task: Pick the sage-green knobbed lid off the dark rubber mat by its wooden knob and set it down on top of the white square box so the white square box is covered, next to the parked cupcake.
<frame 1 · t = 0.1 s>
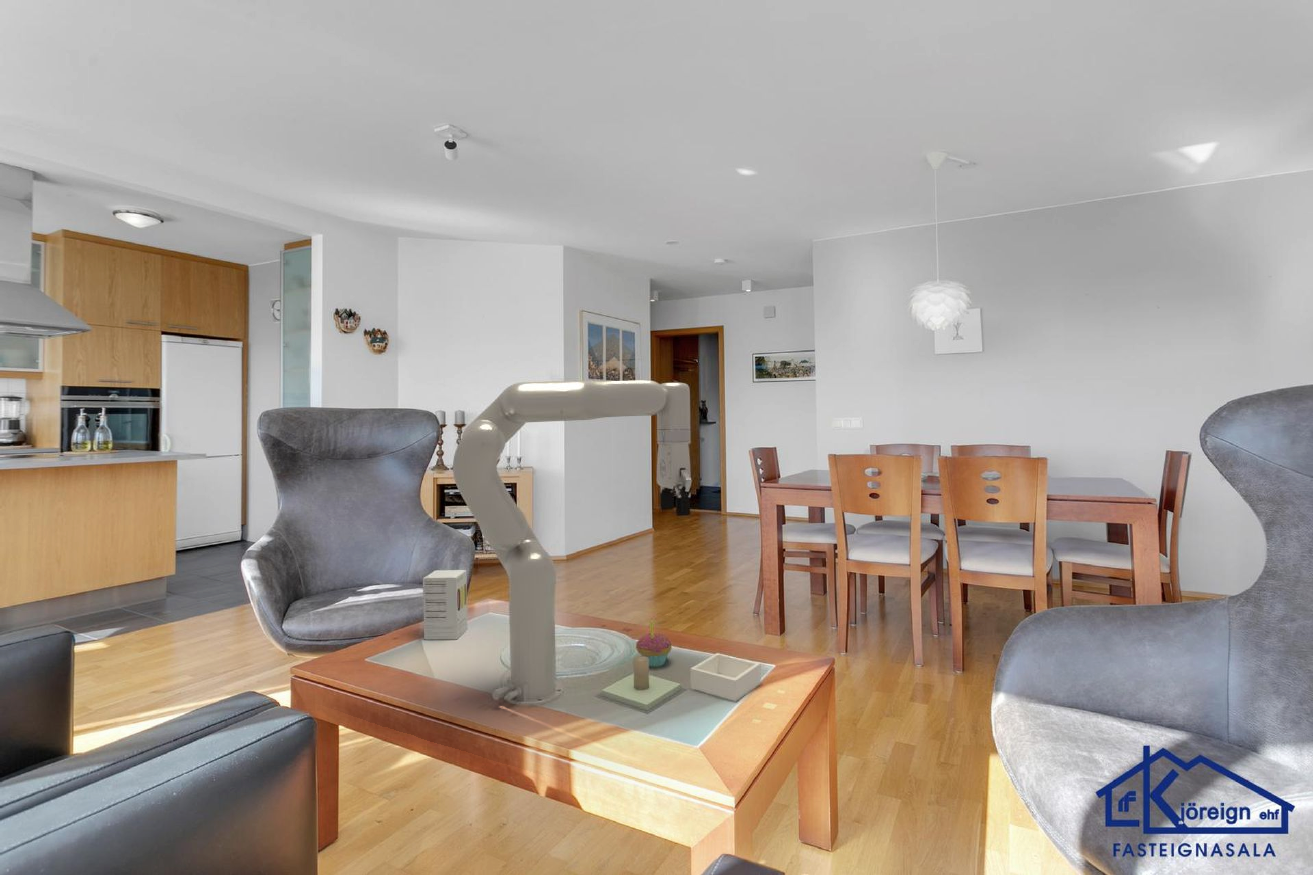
hand: (674, 512, 147), 37 cm above the table, tool pointing down, fingers open, 9 cm apart
supplement box: (446, 634, 177), on the table
white square box: (726, 688, 139), on the table
mat: (641, 695, 137), on the table
cupcake: (653, 665, 153), on the table
lid: (641, 692, 137), point 1 cm above the table, touching mat
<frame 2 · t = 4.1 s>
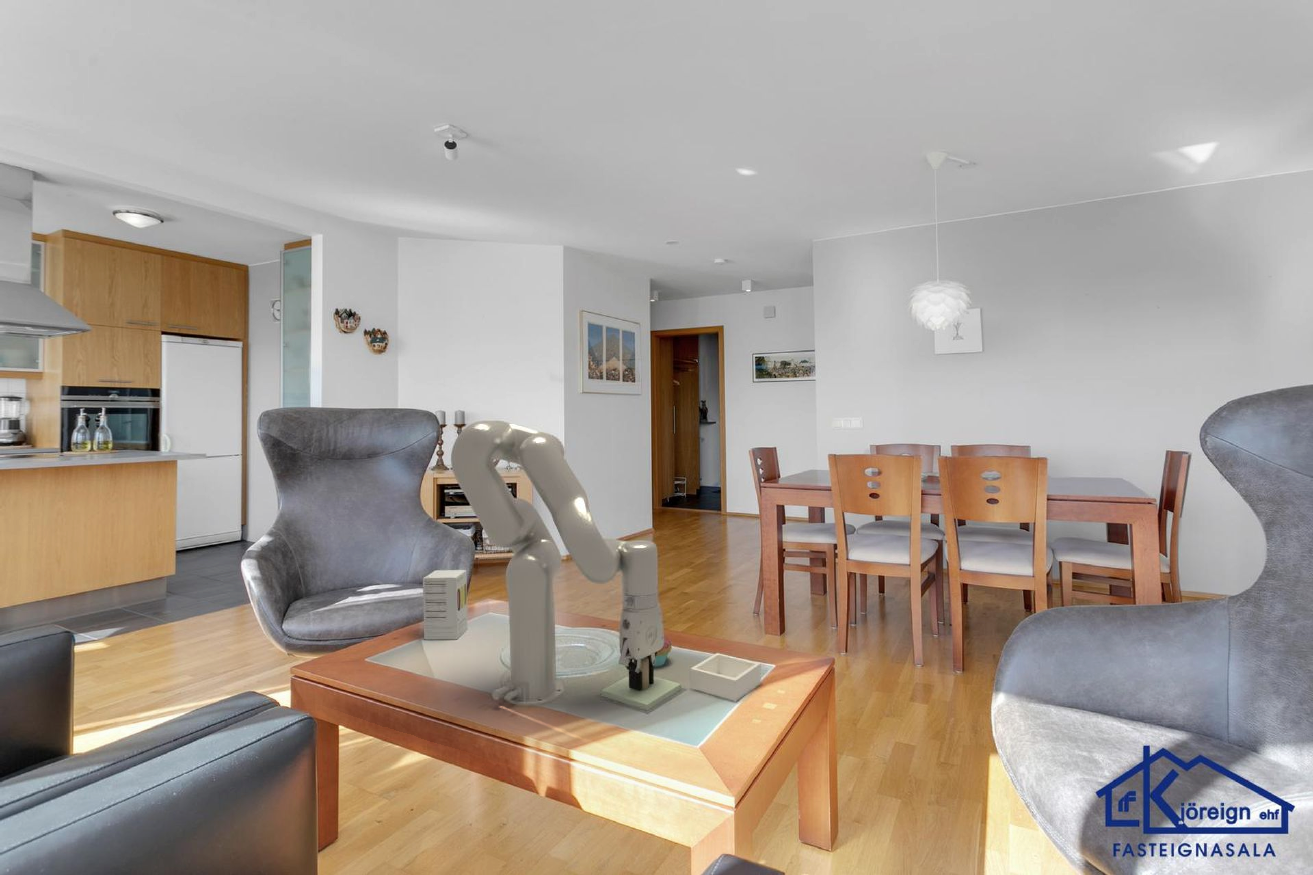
hand: (641, 684, 136), 2 cm above the table, tool pointing down, fingers closed on lid, 3 cm apart
lid: (641, 692, 137), point 1 cm above the table, touching gripper, mat
everything else where it was.
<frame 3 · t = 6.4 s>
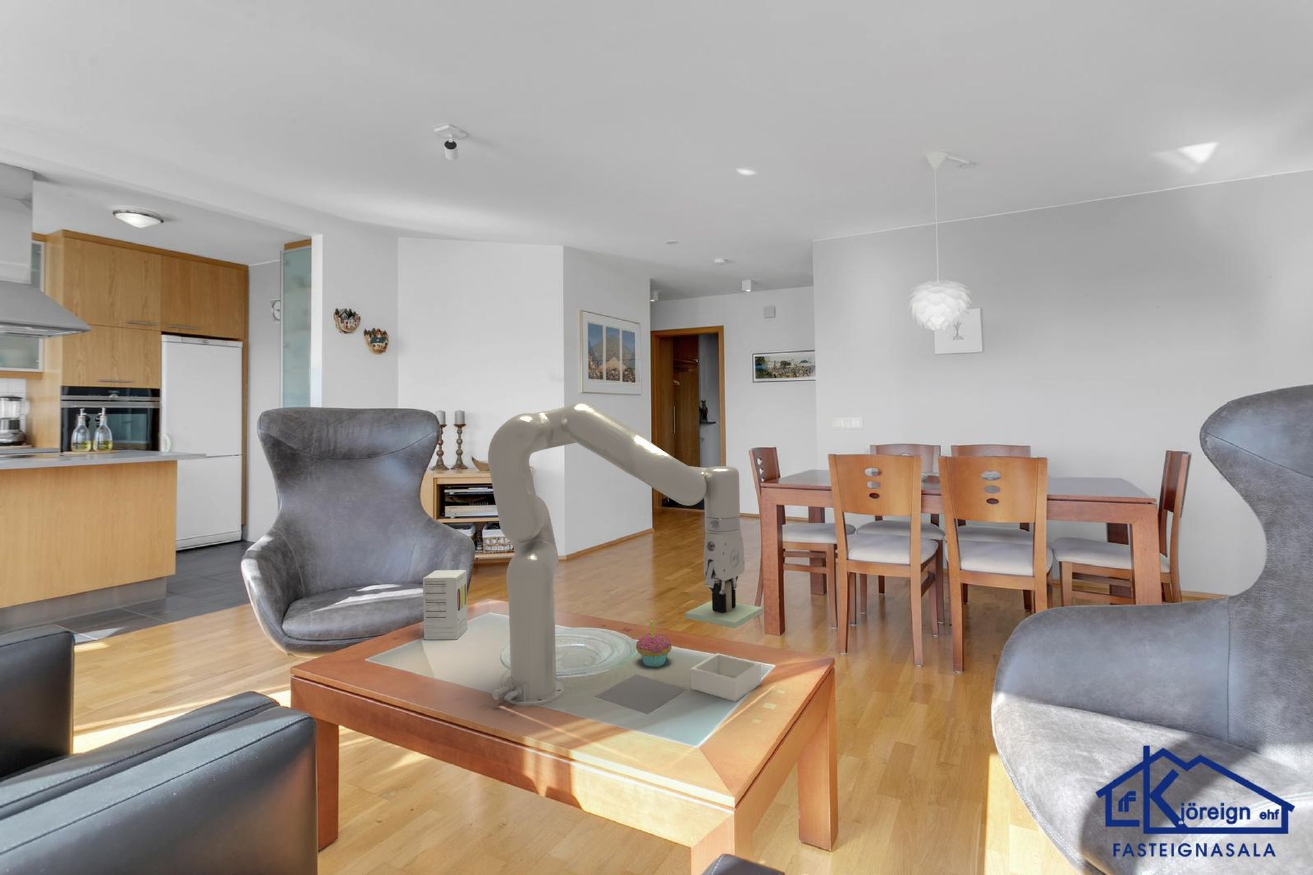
hand: (724, 608, 139), 18 cm above the table, tool pointing down, fingers closed on lid, 3 cm apart
lid: (724, 615, 139), point 16 cm above the table, touching gripper
everything else where it was.
when the fingers open (8 cm above the table, at t = 8.9 s): lid stays where it is, resting on white square box.
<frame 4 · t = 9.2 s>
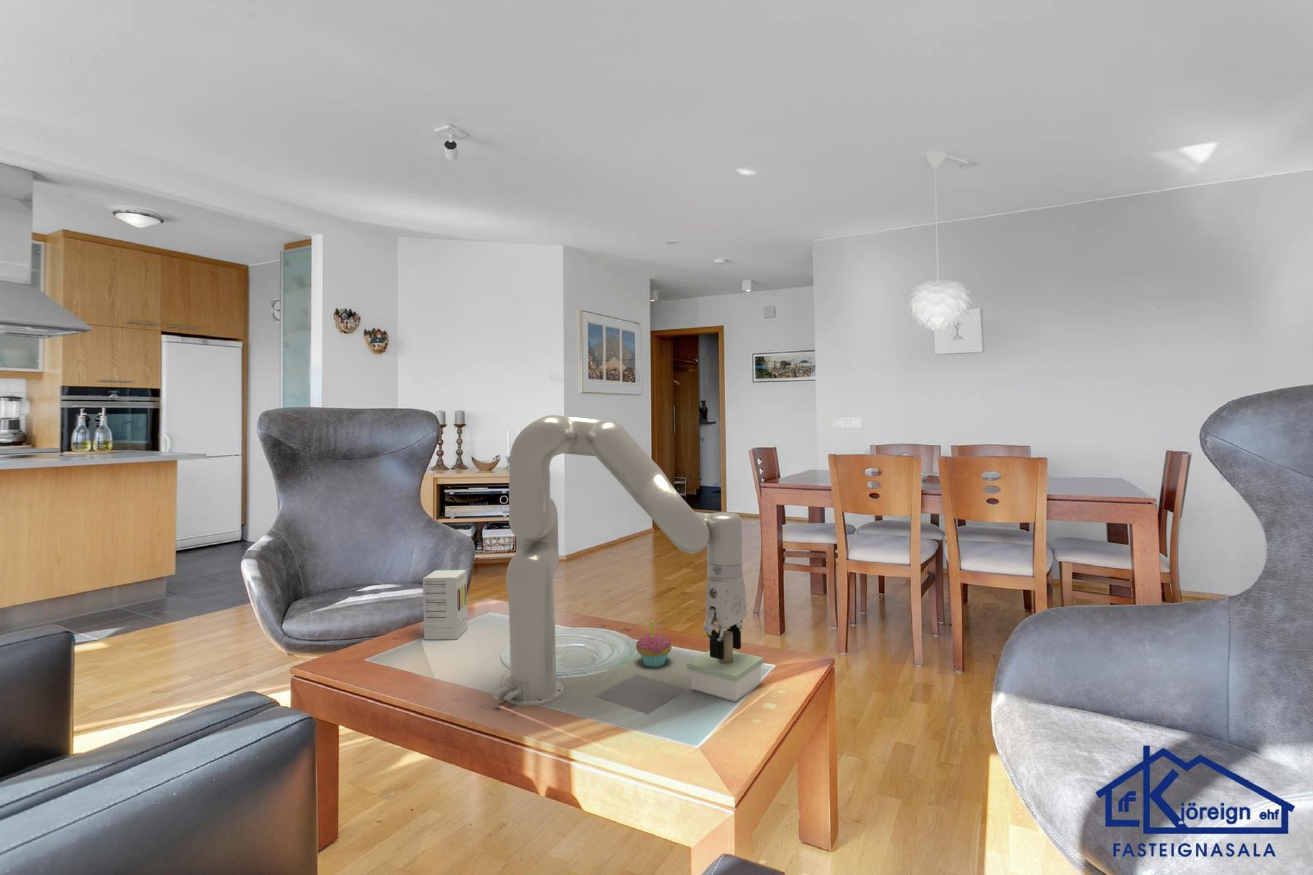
hand: (725, 652, 139), 8 cm above the table, tool pointing down, fingers open, 6 cm apart
lid: (725, 666, 139), point 5 cm above the table, touching white square box
everything else where it was.
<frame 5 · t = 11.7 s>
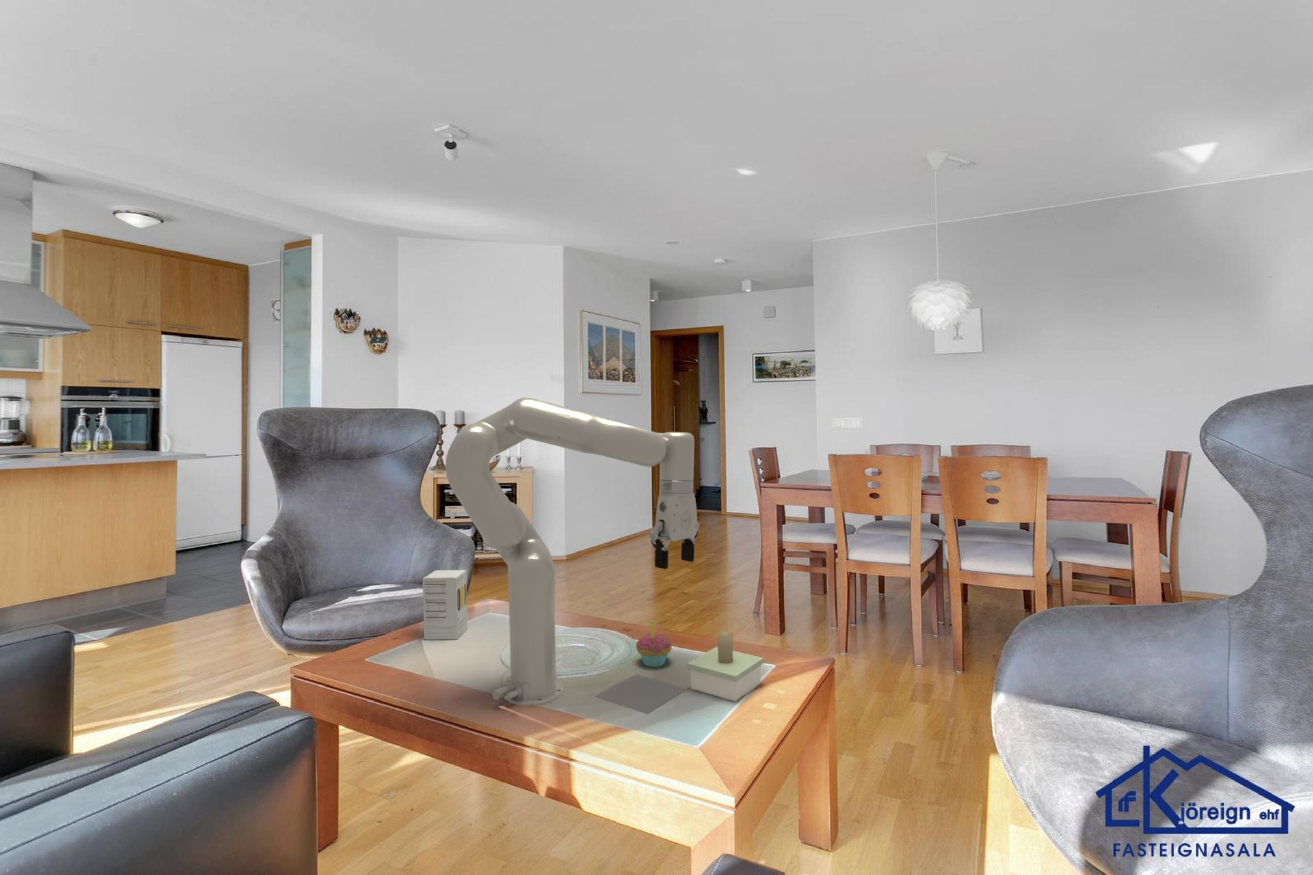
hand: (674, 564, 143), 26 cm above the table, tool pointing down, fingers open, 9 cm apart
nothing on the table moved.
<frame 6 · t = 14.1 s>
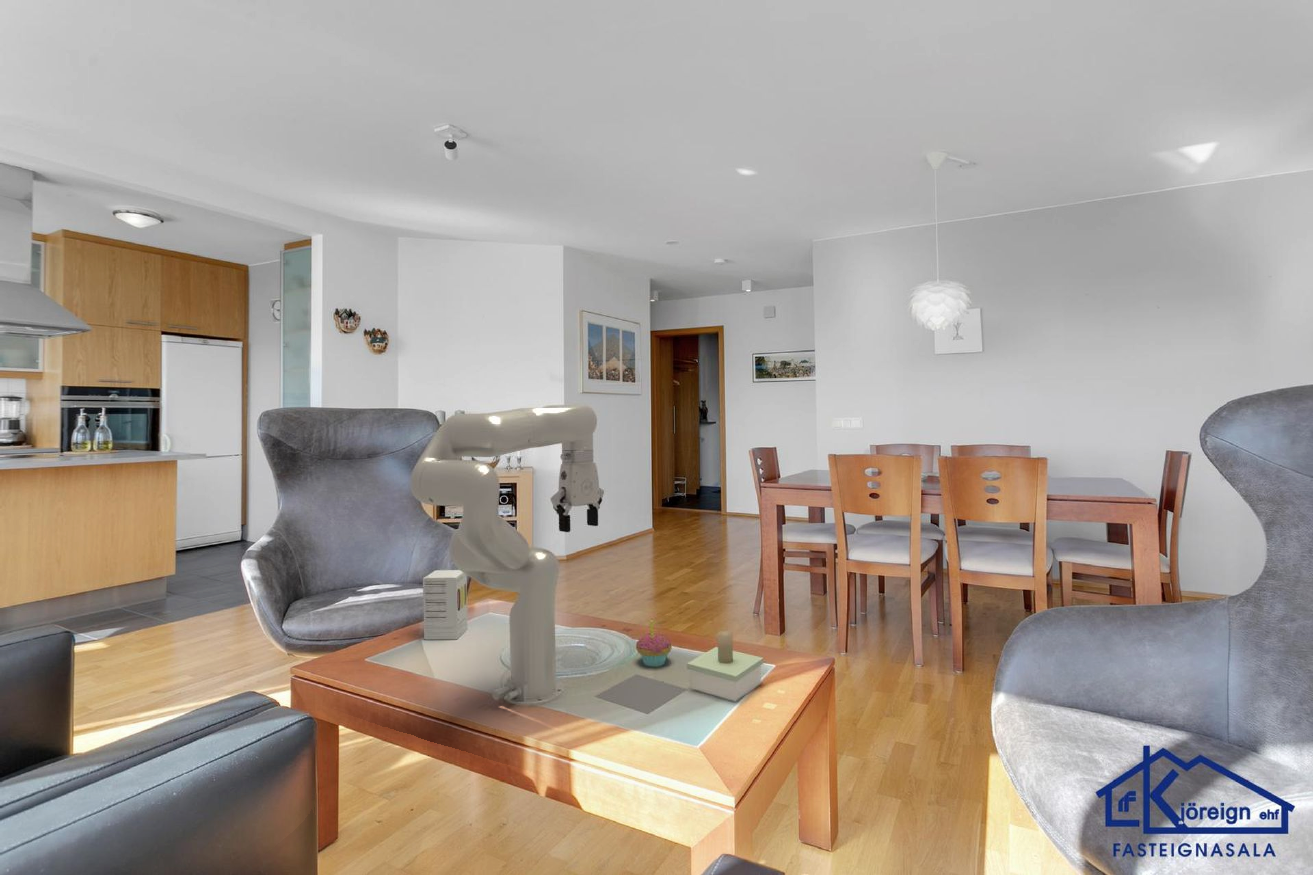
hand: (579, 528, 155), 32 cm above the table, tool pointing down, fingers open, 9 cm apart
nothing on the table moved.
at the end: lid 0.1 cm off-centre on the white square box, point 5.0 cm above the white square box's base; lid tilted 0°; the gripper is holding nothing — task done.
